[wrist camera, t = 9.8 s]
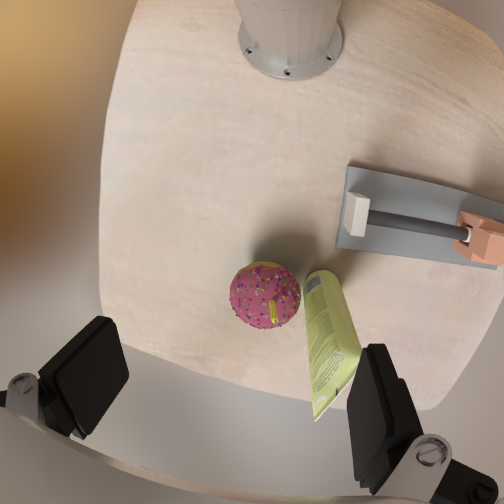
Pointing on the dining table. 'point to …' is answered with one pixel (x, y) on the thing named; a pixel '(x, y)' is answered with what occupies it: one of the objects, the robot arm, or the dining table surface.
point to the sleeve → (481, 239)
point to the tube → (329, 339)
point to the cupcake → (265, 295)
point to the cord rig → (408, 217)
